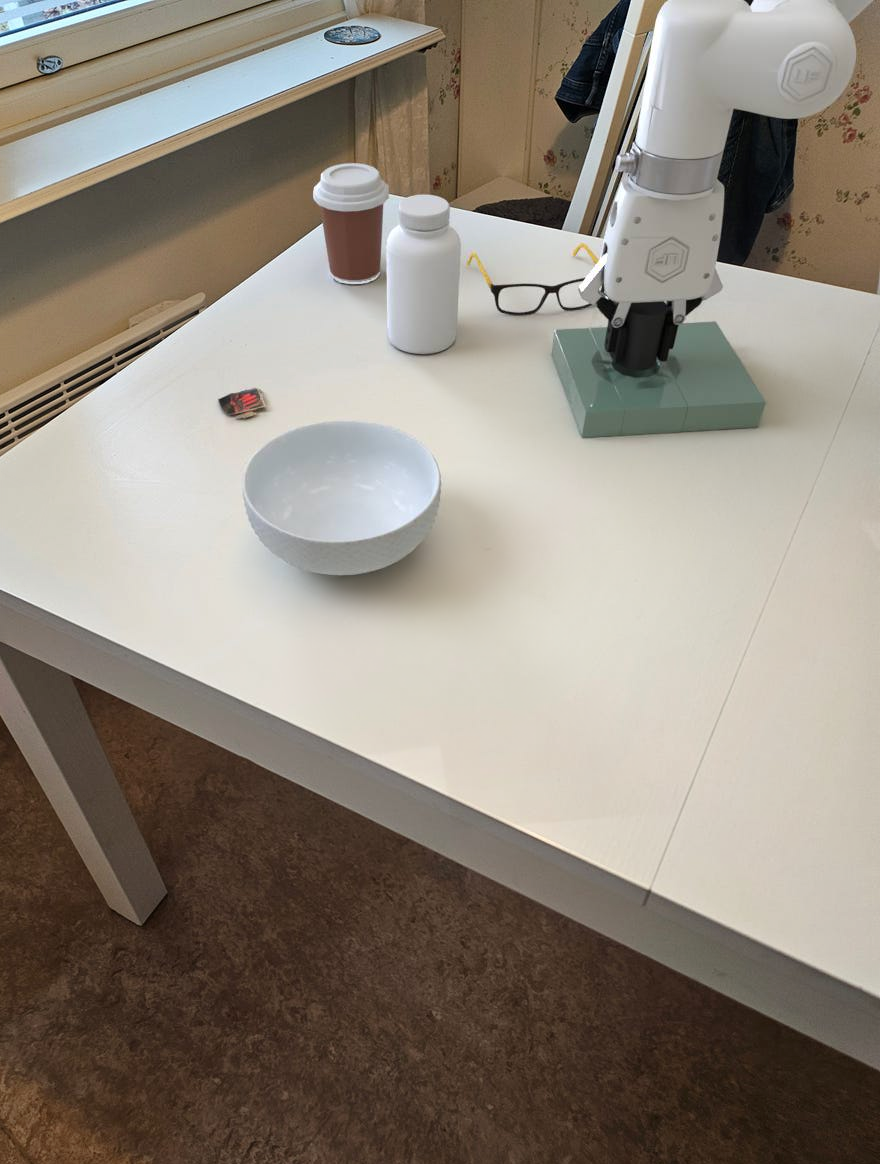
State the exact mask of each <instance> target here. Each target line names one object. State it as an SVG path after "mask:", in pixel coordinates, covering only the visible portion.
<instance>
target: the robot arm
mask: <svg viewBox="0 0 880 1164" xmlns="http://www.w3.org/2000/svg"><path fill="white" fill-rule="evenodd" d="M874 1H875V0H752V3H751V4H750V5H749V3H748V2H747V1H746V0H667V1H664V3H663V4H662V6H661V7H660V9H659V11H658V13H657V16H656V19H655V24H654V28H653V33H652V39H651V46H650V51H649V56H648V63H647V69H646V75H645V82H644V86H643V87H644V88H643V93H642V99H641V104H640V111H639V115H638V116H639V117H638V124H637V131H636V134H635V141H632V145H631V148H630V150H629V152H626V153H624V154H618V155H616V158H615V171H616V173H619V172H624V174H628V176H624V177H623V178H622V180H621V182H620V184H619V187H618V190H617V192H616V195H615V198H614V200H613V204H612V207H611V210H610V213H609V217H608V221H607V224H606V228H605V232H604V236H603V240H602V245H601V250H600V255H599V259H598V260H599V262H598V263H597V265H596V264H595V266H594V267H593V268H592V270H591V271H590V272H589V273H588V274H587V276H586V277H584V278H585V280H584V281H581V283H580V284H579V286H578V287H577V288H578V289H577V291H578V294H579V296H580V298H581V299H582V300H584V301H585V302H586V303H587V304H589V303H590V304H591V305H592V306H594V307H595V308H597V309H598V310H599V312H600V313H601V314H602V315H603V316H604V317H605V318H606V320H607V326H606V327H607V331H606V337H605V350H606V352H609V354H610V356H611V358H612V360H613V363H614V364H620V362H622V358H623V353H624V348H625V343H626V337H627V332H628V328H627V326H626V324H625V320H626V319H625V318H626V316H627V313H628V311H629V308H630V306H631V303H639V302H661V301H664V302H665V303H666V304H667V312H666V317H665V321H664V326H663V331H662V335H661V340H660V344H659V349H658V353H657V358H658V360H660V361H661V362H664V361H667V358H668V353H669V349H673V347H674V343H675V339H676V334H677V330H678V326H679V325H680V324H682V323H685V321H686V317H687V316H688V315H690V314H691V313H692V312H693V311H695V310H696V308H698V307H699V306H700V305H701V304H702V303H703V301H707V300H709V299H710V298H712V297H713V296H715V295H717V294H719V293H720V292H721V291H722V290H723V288H724V287H723V283H722V281H721V278H720V276H719V274H718V272H717V269H716V265H717V260H718V254H719V248H720V243H721V242H720V241H721V236H722V234H721V233H722V228H723V218H724V217H723V216H724V207H725V206H724V205H725V186H724V184H723V183H722V182H721V181H719V179H718V177H719V171H720V167H721V163H722V160H723V155H724V150H725V146H726V142H727V138H728V134H729V130H730V127H731V121H732V116H733V112H734V110H740V111H744V112H749V113H753V114H757V115H762V116H765V117H771V118H776V119H777V118H778V119H784V120H785V119H787V120H792V119H802V118H807V117H810V116H813V115H816V114H817V113H820V112H822V111H823V110H825V109H826V108H828V107H830V106H831V105H832V104H833V103H834V102H835V101H837V100H838V98H839V97H840V96H841V95H842V94H843V93H844V92H845V89H846V88H847V87H848V85H849V84H850V81H851V79H852V76H853V74H854V71H855V67H856V62H857V45H856V43H857V42H856V40H855V36H854V34H853V30H852V28H851V26H850V25H849V24H851V22H852V21H853V20H854V19H855V18H856V17H857V16H859V14H861V13H862V12H863V11H864V10H865V9H866V8H867V7H868V6H869V5H870V4H872V3H873V2H874ZM603 283H604V290H605V291H604V292H601V290H600V289H601V287H602V284H603Z"/></svg>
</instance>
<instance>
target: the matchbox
mask: <svg viewBox="0 0 880 1164" xmlns="http://www.w3.org/2000/svg"><path fill="white" fill-rule="evenodd" d="M263 396H264V391H263V390H261V389H260V388H258V387H252V388H251V389H250V388H249V389H247V388H246V389H245V390H241V391H237V392H231V393H229V394H226V395H224V396H222V397H220V398H217V400H218V405H219V408H220V409H221V410H222V411H223V412H224V413H225V414H226V415H227V416H230V415H234V417H235V418H236V419H238V420H240V419H243V420H245V419H247V418H250V417H253V416H256V415H257V414H258V411H257V412H256V410H258V409H260V408H261V409H263V408H265V407H266V403H265V399H264V398H263Z"/></svg>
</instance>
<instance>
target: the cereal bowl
mask: <svg viewBox="0 0 880 1164" xmlns="http://www.w3.org/2000/svg"><path fill="white" fill-rule="evenodd" d="M241 483H242V485H241V487H242V499H243V504H244V505H243V506H244V508H245V514H246V515H247V519H248V522H249V523H250V526H251V529H252V530H253V531H254V534H255V536H257V538H258V539H259V541H260V542H261V543H262V544H263V546H264V547H265V548H267V549H268V550H269V552H271V553H273V554H274V555H275V556H276V557H277V558H278V559H281V560H283V562H285V563H287V564H289V565H291V566H294V567H296V568H299V569H301V570H304V571H307V572H312V573H315V574H322V575H327V576H354V575H359V574H360V575H362V574H366V573H371V572H374V571H377V570H381V569H384V568H386V567H389V566H391V565H393V564H395V563H397V562H399V561H400V560H402V559H404V558H405V557H406V556H407V555H410V554H411V553H412V552H413V551H414V550H415V549H417V548H418V547H419V545H420V544H422V543H423V541H424V540H425V538H427V536H428V535H429V532H430V531H431V529H433V525H434V523H435V521H436V518H437V515H438V510H439V508H440V502H441V493H442V475H441V471H440V467H439V463H438V462H437V460H436V458H435V457H434V455H433V453H432V452H431V451H430V450H429V449H428V447H426V446H425V444H423V443H422V442H421V441H419V440H418V439H417V438H416V437H414V436H412V435H411V434H409V433H407V432H405V431H403V430H401V429H398V428H396V427H392V426H389V425H385V424H382V423H377V422H372V421H365V420H351V419H343V420H342V419H338V420H327V421H318V422H313V423H309V424H305V425H301V426H297V427H294V428H291V429H289V430H287V431H285V432H283V433H281V434H278V435H276V436H275V437H273V438H272V439H270V440H268V441H267V442H265V443H264V444H263V445H262V446H261V447H259V448H258V449H257V450H256V452H254V454H253V455H252V456H251V457H250V459H249V461H248V462H247V463H246V466H245V469H244V472H243V476H242V481H241Z"/></svg>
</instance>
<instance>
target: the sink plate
mask: <svg viewBox="0 0 880 1164" xmlns="http://www.w3.org/2000/svg"><path fill="white" fill-rule="evenodd" d="M606 331H607V326H603V327H602V326H600V327H584V328H583V327H582V328H565V329H564V328H563V329H562V328H561V329H554V331H553V337H552V339H553V340H552V347H551V357H552V360H553V362H554V365H555V368H556V370H557V373H558V376H559V379H560V382H561V385H562V388H563V390H564V393H565V396H566V398H567V401H568V405H569V406H570V409H571V413H572V415H573V417H574V420H575V423H576V426H577V429H578V432H579V434H580V436H581V439H583V438H601V437H616V436H617V437H618V436H634V435H635V436H636V435H652V434H671V433H682V432H698V431H699V432H702V431H719V430H735V429H753V428H759V427H760V423H761V420H762V417H763V415H764V411H765V408H766V405H767V400H766V398H765V397H764V396H763V394H762V393H761V391H760V389H759V387H758V386H757V385H756V383H755V381H754V380H753V378H752V376H751V375H750V373H749V372H748V370H747V368H746V367H745V365H744V364H743V362H742V361H741V359H740V358H739V356H738V354H737V353H736V351H735V349H734V348H733V346H732V345H731V343H730V341H729V339H727V337H726V336H725V334H724V332H723V331H722V329H721V328H720V326H719V324H718V322H717V321H699V322H683V323H682V324H680V325H679V326H678V330H677V334H676V339H675V343H674V347H673V349H669V353H668V358H667V361H664V362H661V361H660V360H658V358H656V362H655V365H654V366H653V367H652V368H650V369H647V370H630V369H627V368H624V367H622V366H621V365H620V364H614V363H613V360H612V358H611V356H610V354H609V352H606V350H605V337H606Z"/></svg>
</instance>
